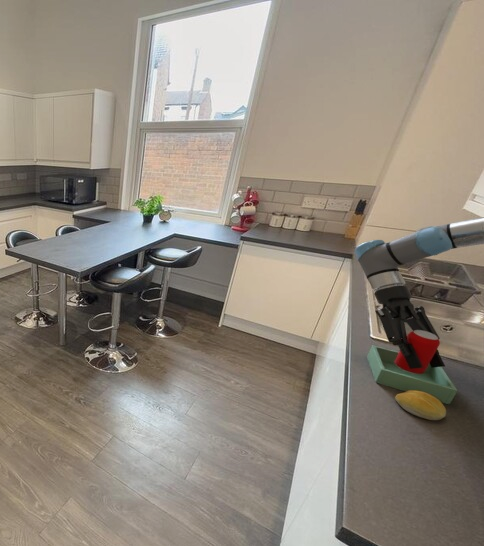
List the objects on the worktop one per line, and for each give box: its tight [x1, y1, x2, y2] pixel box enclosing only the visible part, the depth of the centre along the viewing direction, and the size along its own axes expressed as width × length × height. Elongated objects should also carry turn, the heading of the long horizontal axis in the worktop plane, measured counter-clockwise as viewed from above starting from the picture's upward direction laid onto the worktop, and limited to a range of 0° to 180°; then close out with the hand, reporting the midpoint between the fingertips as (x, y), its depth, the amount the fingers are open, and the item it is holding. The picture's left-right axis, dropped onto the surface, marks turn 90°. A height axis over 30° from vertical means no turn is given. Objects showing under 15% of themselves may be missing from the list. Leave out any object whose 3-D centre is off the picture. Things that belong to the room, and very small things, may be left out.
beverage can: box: [395, 330, 441, 374], centre depth 87 cm, size 6×6×12 cm
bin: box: [366, 344, 458, 405], centre depth 90 cm, size 15×15×5 cm
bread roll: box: [394, 390, 447, 421], centre depth 79 cm, size 8×9×4 cm
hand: (427, 367), depth 85 cm, fingers closed on beverage can, 6 cm apart
